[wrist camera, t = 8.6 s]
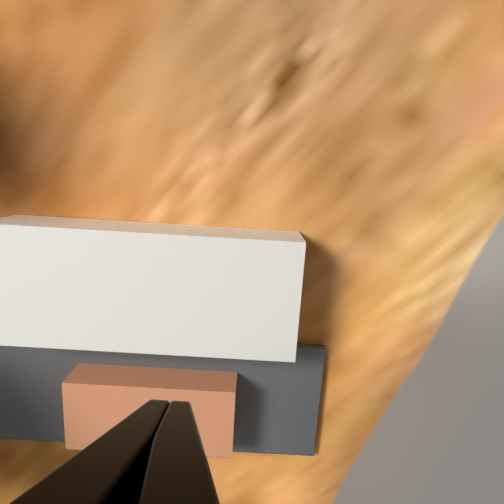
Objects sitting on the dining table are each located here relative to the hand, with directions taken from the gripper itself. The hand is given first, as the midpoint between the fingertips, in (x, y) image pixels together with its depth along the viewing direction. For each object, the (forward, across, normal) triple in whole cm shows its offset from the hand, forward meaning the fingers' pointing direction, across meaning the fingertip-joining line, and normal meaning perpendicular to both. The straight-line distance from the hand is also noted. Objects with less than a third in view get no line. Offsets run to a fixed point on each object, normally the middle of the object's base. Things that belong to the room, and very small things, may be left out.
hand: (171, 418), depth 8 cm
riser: (+13, +4, +1) cm, 14 cm away
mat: (+13, +4, +8) cm, 16 cm away
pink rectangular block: (+11, +3, +8) cm, 14 cm away
